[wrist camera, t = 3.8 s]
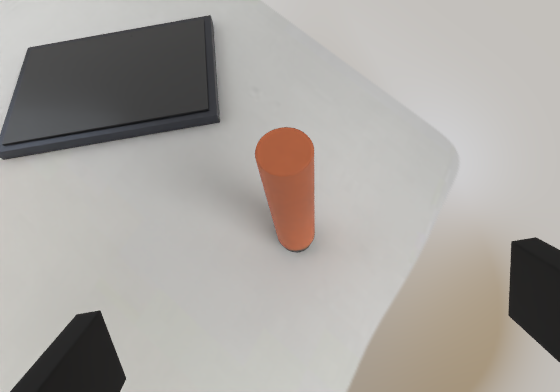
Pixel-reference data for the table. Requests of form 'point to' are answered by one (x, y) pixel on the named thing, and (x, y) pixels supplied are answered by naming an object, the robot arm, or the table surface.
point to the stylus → (289, 184)
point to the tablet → (113, 88)
